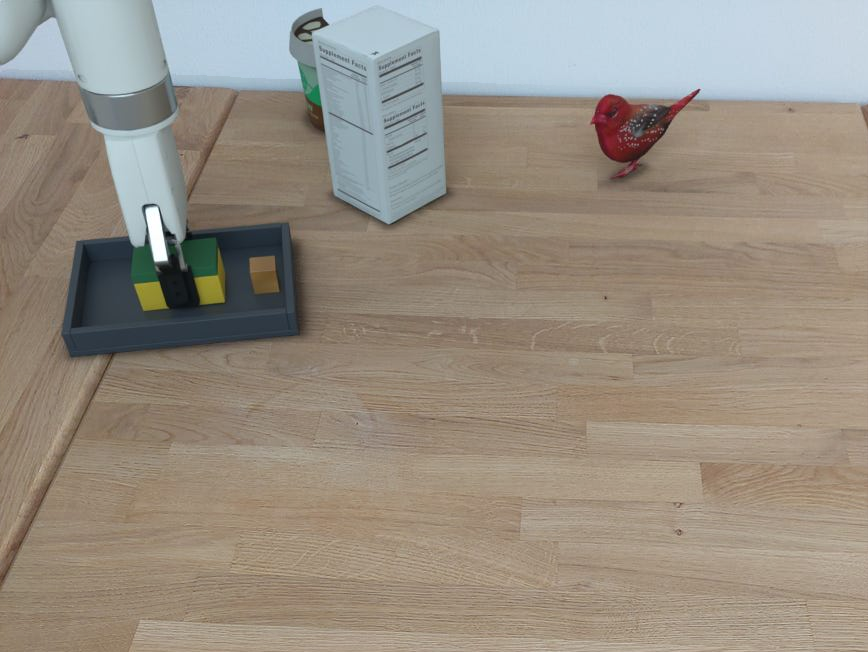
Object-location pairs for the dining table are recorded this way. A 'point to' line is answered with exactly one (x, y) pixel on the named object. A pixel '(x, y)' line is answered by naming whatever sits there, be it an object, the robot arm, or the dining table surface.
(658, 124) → the decorative bird figurine
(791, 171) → the dining table surface
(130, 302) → the tray
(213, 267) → the sponge
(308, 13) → the food container
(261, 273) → the small brown block
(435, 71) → the supplement box
